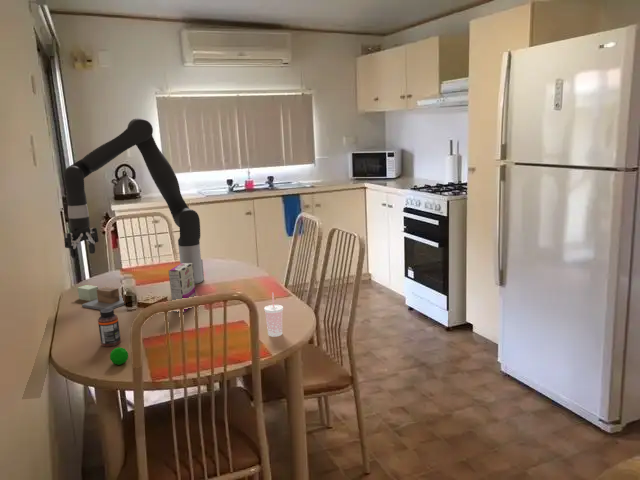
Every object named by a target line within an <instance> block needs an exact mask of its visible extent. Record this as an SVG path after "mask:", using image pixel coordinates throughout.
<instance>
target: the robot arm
mask: <svg viewBox="0 0 640 480" xmlns="http://www.w3.org/2000/svg"><path fill="white" fill-rule="evenodd" d="M153 128H154V127H153V125H152V124H151V122H149V120H147V119H145V118H139V117H137V118H133V119H131V120H130V121H129V122H128V123H127V128H126V129H125V130H124V131H123V132H122V133H120V134H118V135H117V136H116V137H114V138H113V139H111V140H109V141H107V142H105V143H103V144H102V145H100V146H98V147H97V148H95V149H93V150H92V151H90V152H89V153H87V154H86V155H85V156H83V157H82V158H81V159H79V160H78V161H75V163H72V164H70V165H69V166H68V167H66V169H65V170H64V172H63V178H64V184H65V190H66V202H67V216H68V223H69V224H68V225H69V228H70V232H64V234H63V237H64V239H63V240H64V248H65V249H69V251H70V252H69V253H70V257H71V258H72V259H76V258H78V252H77V246H78V245H79V243H80V242H84V241H85V242H87V243H88V251H89V254H91V255H93V254H95V252H96V247H95V245H96V243H98V242H99V235H98V229H97V228H96V227H91V221H90V212H89V208H88V201H87V195H86V190H85V178H87V177H88V176H89V175H91V174H92V173H94V172H97V171H98V170H100V169H101V168H103V167H105V166H106V165H107V164H108V163H111V161H113V160H115V158H117V157H119V156H120V155H121V154H122V153H124V152H126V151H127V150H129V149H131V148H132V147H134V146H136V148H137V149H138V151H139V152H140V155H141V156H142V159H143V161H144V163H145V165H146V167H147V170H148V172H149V174H150V176H151V178H152V180H153V182H154V184H155V186H156V188H157V189H158V191H159V193H160V195H161V196H162V198H163V200H164V201H165V202H166V204H167V206H168V209H169V211H170V214H171V216H172V219H173V221H174V223H175V226H177V227H178V228H179V238H178V239H177V244H178V254H179V264H181V263H193V273H194V283H195V285H196V284H200V283H202V282H203V281H204V280H205V274H204V261H203V259H202V254H201V246H200V245H201V244H200V242H201V241H200V240H201V220H200V215H199V214H198V212H197V211H196V210H194V209H191V208H190V207H189V206H188V204H187V203H186V201H185V200H184V197H183V195H182V192H181V189H180V184H179V181H178V178H177V175H176V173H175V172H174V169H173V167H172V165H171V163H170V162H169V160H168V159H167V158H166V157H165V154H163V153H162V151H161V150H160V148H159V147H158V144H157V143H156V140H155V138H154V136H153V132H154V129H153Z"/></svg>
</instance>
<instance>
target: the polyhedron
mask: <svg viewBox="0 0 640 480" xmlns="http://www.w3.org/2000/svg"><path fill="white" fill-rule="evenodd" d="M109 358H110V359H109V360H110V361H111V362H112V364H115V365H117V366H121V365H124V364H125V363H126V362H127V361H128V360H129V359H128V358H129V353H128V350H127V349H126V348H124V347H121V346H118V347H115V348H114V349H112V350H111V352H110V355H109Z"/></svg>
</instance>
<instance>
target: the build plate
mask: <svg viewBox="0 0 640 480" xmlns="http://www.w3.org/2000/svg"><path fill="white" fill-rule="evenodd" d="M122 296H123V295H119V298H120V300H119V301H117V302H114V303H112V304H109V303H102V302H98V299H95V300H92V301H87V302H85V303H82V305H81V306H82V308H87V309H94V310H97V311H98V310H99V311H101V310H103V309H107V308H112V309H113V310H114V309H116V308H119V307H121V306H124V301H123V298H122Z"/></svg>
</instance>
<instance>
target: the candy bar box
mask: <svg viewBox="0 0 640 480" xmlns="http://www.w3.org/2000/svg"><path fill="white" fill-rule="evenodd" d="M168 277H169V287H170V295H171V297H170V298H171V301H172V300H176V299H182V298H189V297H194V296H196V297H197V293H196V284H195V283H194V273H193V263H181V264H180V263H179V264H177V265H175V266H174V267H172V268H171V269H168ZM190 309H191V308H188V309H184V312H183V313H186V312H187V311H189V310H190ZM172 312H173V313H180V312H179V311H178V312H177V311H173V310H172Z"/></svg>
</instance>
